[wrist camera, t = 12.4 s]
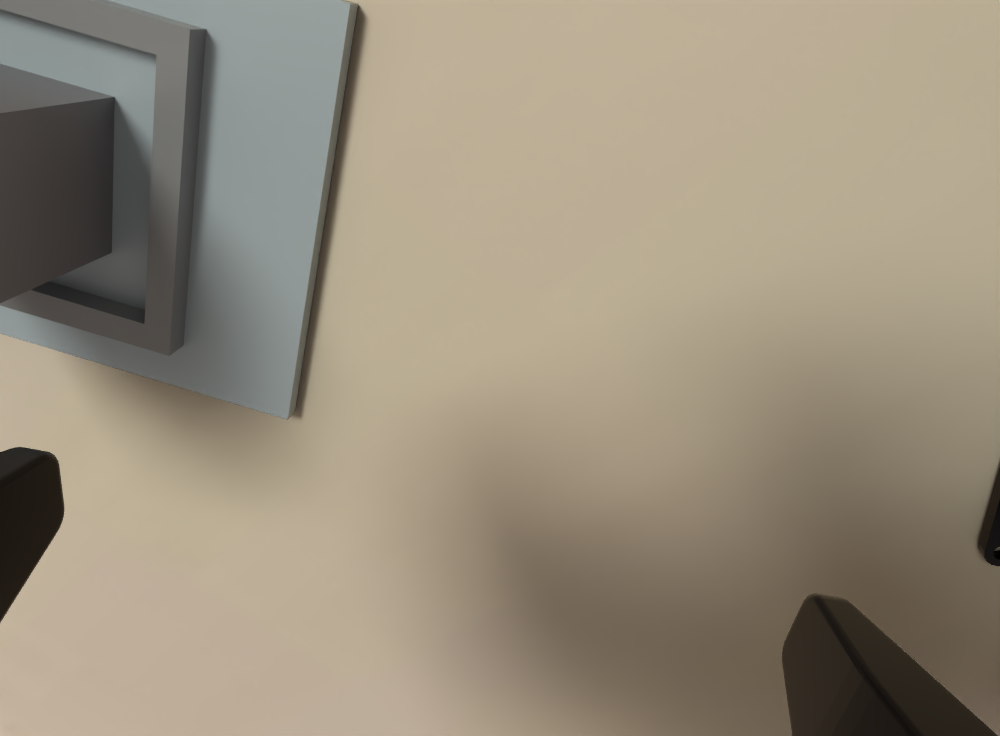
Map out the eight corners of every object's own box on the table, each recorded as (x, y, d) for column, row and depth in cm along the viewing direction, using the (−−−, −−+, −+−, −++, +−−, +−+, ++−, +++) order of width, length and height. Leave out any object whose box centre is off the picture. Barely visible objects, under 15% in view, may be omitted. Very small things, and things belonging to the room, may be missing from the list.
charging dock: (357, 3, 18) (336, 1, 17) (295, 410, 23) (274, 435, 22) (-255, -175, 18) (-329, -193, 17) (-181, 268, 24) (-233, 283, 22)
